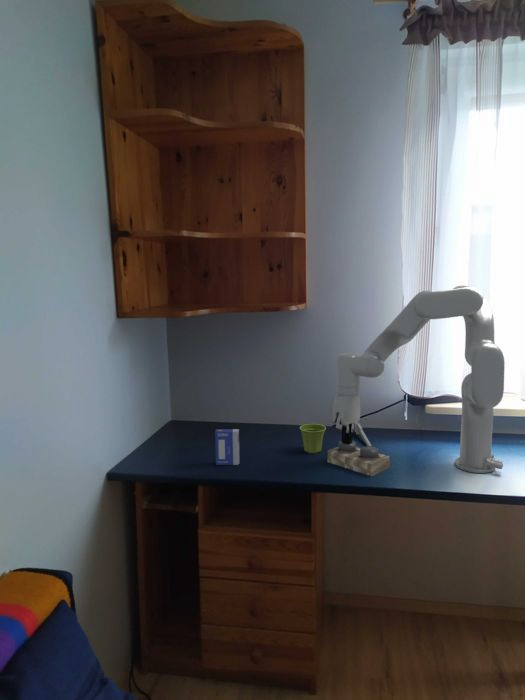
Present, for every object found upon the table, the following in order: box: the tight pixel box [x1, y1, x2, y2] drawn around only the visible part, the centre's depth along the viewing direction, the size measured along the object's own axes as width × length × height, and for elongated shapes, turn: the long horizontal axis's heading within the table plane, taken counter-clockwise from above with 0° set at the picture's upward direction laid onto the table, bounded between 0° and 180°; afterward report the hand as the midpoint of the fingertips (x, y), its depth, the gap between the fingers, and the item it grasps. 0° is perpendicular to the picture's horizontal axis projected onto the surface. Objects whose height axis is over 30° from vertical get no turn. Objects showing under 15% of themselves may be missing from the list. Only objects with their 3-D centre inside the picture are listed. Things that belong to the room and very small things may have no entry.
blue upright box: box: [214, 428, 240, 466], centre depth 180 cm, size 8×3×12 cm, turn 90°
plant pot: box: [299, 423, 327, 454], centre depth 192 cm, size 9×9×9 cm
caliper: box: [354, 420, 373, 447], centre depth 203 cm, size 20×1×6 cm, turn 6°
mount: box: [326, 446, 391, 477], centre depth 178 cm, size 18×10×4 cm, turn 44°
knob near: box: [359, 445, 380, 461], centre depth 175 cm, size 6×6×6 cm
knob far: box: [337, 440, 357, 454], centre depth 181 cm, size 6×6×6 cm
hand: (346, 442), depth 181 cm, fingers closed
